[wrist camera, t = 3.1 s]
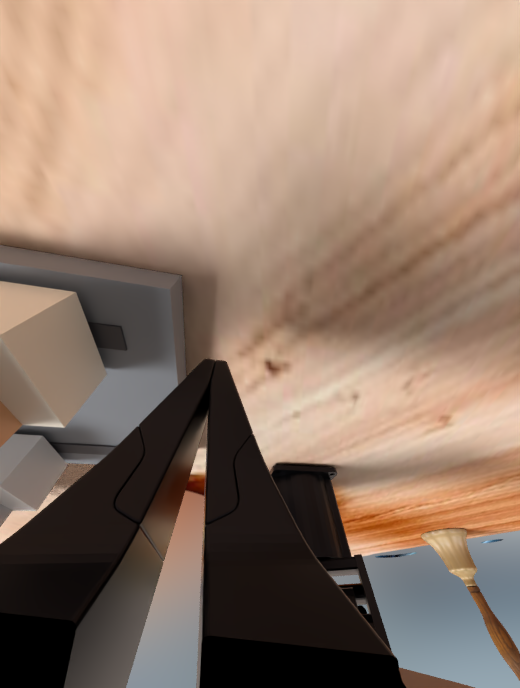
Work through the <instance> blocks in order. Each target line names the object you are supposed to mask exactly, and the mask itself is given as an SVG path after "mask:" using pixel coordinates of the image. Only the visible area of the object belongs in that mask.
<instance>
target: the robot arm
mask: <svg viewBox="0 0 520 688" xmlns="http://www.w3.org/2000/svg"><path fill="white" fill-rule="evenodd" d="M207 416H208V429H207V452H206V475H205V498H204V500H205V501H204V522H203V545H202V568H201V592H200V616H199V638H198V639H199V640H198V661H197V684H196V688H474V687H471V686H467V685H464V684H460V683H456V682H452V681H448V680H445V679H441V678H437V677H433V676H429V675H426V674H421V673H418V672H414V671H410V670H407V669H403V668H399V665H398V660H397V658H396V657H395V656H394V655H393V653H392V651H391V648H390V645H389V641H388V638H387V635H386V632H385V628H384V625H383V623H382V619H381V616H380V613H379V610H378V607H377V603H376V600H375V597H374V593H373V590H372V587H371V584H370V581H369V577H368V574H367V571H366V568H365V565H364V562H363V558H362V555H361V554H359V555H354V557H352V556H351V553H350V549H349V545H348V542H347V538H346V534H345V531H344V527H343V523H342V520H341V516H340V512H339V509H338V505H337V501H336V498H335V494H334V490H333V487H332V483H331V480H332V479H333V478H334V477H335V476H336V475H337V471H336V468H329V467H308V466H288V465H275V466H273V467H272V469H271V471H270V472H269V470H268V468H267V466H266V464H265V462H264V459H263V457H262V454H261V452H260V449H259V447H258V444H257V442H256V439H255V436H254V435H253V431H252V429H251V426H250V423H249V421H248V418H247V415H246V413H245V410H244V407H243V404H242V402H241V399H240V396H239V394H238V391H237V388H236V386H235V383H234V380H233V378H232V375H231V372H230V369H229V367H228V364H227V362H226V361H222V360H216V362H215V360H213V359H204V360H203V361H202V362H201V363H200V364H199V365H198V366H197V367H196V368H195V369H194V370H193V371H192V372H191V373H190V374H189V375H188V376H187V377H186V378H185V379H184V380H183V381H182V382H181V383H180V384H179V385H178V386H177V387H176V388H175V389H174V390H173V391H172V392H171V393H170V394H169V395H168V396H167V397H166V398H165V399H164V400H163V401H162V402H161V403H160V404H159V405H158V406H157V407H156V408H155V409H154V410H153V411H152V412H151V413H150V414H149V415H148V416H147V417H146V418H145V419H144V420H143V421H142V422H141V423H140V424H139V426H137V427H136V428H135V429H134V430H133V431H132V432H131V433H130V434H129V435H128V436H127V437H126V438H125V439H124V440H123V441H122V442H120V443H119V444H118V445H117V446H116V447H115V448H114V449H113V450H112V451H111V452H110V453H109V454H108V455H107V456H105V457H104V458H103V459H102V460H101V461H100V462H99V463H97V464H96V465H95V466H94V467H93V468H92V469H91V470H89V471H88V472H87V473H86V474H85V475H84V476H82V477H81V478H80V479H79V480H78V481H76V482H75V483H74V484H73V485H72V486H70V487H69V488H68V489H67V490H66V491H65V492H63V493H62V494H61V495H60V496H59V497H57V498H56V499H55V500H54V501H53V502H52V503H50V504H49V505H48V506H47V507H46V508H44V509H43V510H42V511H41V512H40V513H38V514H37V515H36V516H35V517H34V518H33V519H31V520H30V521H29V522H28V523H27V524H25V525H24V526H23V527H22V528H21V529H19V530H18V531H17V532H16V533H14V534H13V535H12V536H10V537H9V538H8V539H6V540H5V541H4V542H2V543H1V544H0V688H126V685H127V682H128V679H129V675H130V672H131V668H132V665H133V662H134V659H135V655H136V652H137V649H138V645H139V642H140V638H141V635H142V632H143V629H144V626H145V622H146V619H147V615H148V612H149V609H150V606H151V602H152V599H153V596H154V592H155V589H156V586H157V582H158V579H159V576H160V572H161V569H162V566H163V561H164V559H165V555H166V552H167V549H168V546H169V542H170V539H171V536H172V533H173V529H174V526H175V523H176V519H177V516H178V513H179V509H180V506H181V503H182V499H183V496H184V493H185V489H186V486H187V483H188V480H189V476H190V473H191V470H192V466H193V463H194V460H195V456H196V453H197V450H198V446H199V443H200V440H201V436H202V433H203V430H204V426H205V423H206V420H207ZM345 575H359V578H360V582H361V583H359V584H344V585H338V584H337V583H336V582H335V581H334V580H333V578H332V576H345ZM363 604H367V607H368V610H369V614H367V612H366V610H365V608H364V607H363V606H357V605H363Z"/></svg>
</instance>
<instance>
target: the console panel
mask: <svg viewBox="0 0 520 688" xmlns="http://www.w3.org/2000/svg"><path fill="white" fill-rule="evenodd" d="M0 281H4V282H11V283H18V284H25V285H31V286H38V287H45V288H52V289H59V290H65V291H72V292H76V293H77V296H78V299H79V301H80V304H81V307H82V309H83V312H84V315H85V317H86V320H87V323H88V325H89V328H90V330H91V333H92V336H93V338H94V341H95V344H96V346H97V349H98V352H99V354H100V357H101V360H102V362H103V365H104V368H105V370H106V373H107V375H106V376H105V378H104V379H103V380H102V381H101V383H100V384H99V385H98V386H97V388H96V389H95V390H94V392H93V393H92V394H91V395H90V397H89V398H88V399H87V400H86V402H85V403H84V404H83V405H82V407H81V408H80V409H79V410H78V412H77V413H76V414H75V415H74V417H73V418H72V419H71V420H70V422H69V423H68V424H67V425H66V427H65V428H62V427H46V426H31V425H22V426H21V427H20V428H19V429H18V430H17V431H16V432H15V433H14V434H22V435H39V436H43V437H44V438H45V439H46V440H47V441H48V442H49V443H50V445H51V446H52V447H53V448H54V449H55V450H56V452H57V453H58V454H59V455H60V456H61V457H62V458H63V460H64V461H65V462H66V463H75V464H97V463H99V462H100V461H101V460H102V459H103V458H104V457H105V456H107V455H108V454H109V453H110V452H111V451H112V450H113V449H114V448H115V447H116V446H117V445H118V444H119V443H120V442H122V441H123V440H124V439H125V438H126V437H127V436H128V435H129V434H130V433H131V432H132V431H133V430H134V429H135V428H136V427H137V426H139V424H140V423H141V422H142V421H143V420H144V419H145V418H146V417H147V416H148V415H149V414H150V413H151V412H152V411H153V410H154V409H155V408H156V407H157V406H158V405H159V404H160V403H161V402H162V401H163V400H164V399H165V398H166V397H167V396H168V395H169V394H170V393H171V392H172V391H173V390H174V389H175V388H176V387H177V386H178V385H179V384H180V383H181V382H182V381H183V380H184V379H185V378H186V358H185V337H184V315H183V294H182V275H176V274H171V273H165V272H159V271H153V270H147V269H141V268H135V267H129V266H123V265H117V264H111V263H105V262H99V261H93V260H87V259H81V258H75V257H69V256H63V255H57V254H51V253H45V252H39V251H33V250H27V249H21V248H15V247H9V246H4V245H0Z"/></svg>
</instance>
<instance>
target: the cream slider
mask: <svg viewBox="0 0 520 688" xmlns="http://www.w3.org/2000/svg"><path fill="white" fill-rule="evenodd" d="M106 375H107V373H106V370H105V368H104V365H103V362H102V360H101V357H100V354H99V352H98V349H97V346H96V344H95V341H94V338H93V336H92V333H91V330H90V328H89V325H88V323H87V320H86V317H85V315H84V312H83V309H82V307H81V304H80V301H79V299H78V296H77V293H76V292H72V291H65V290H59V289H52V288H45V287H38V286H31V285H25V284H18V283H11V282H4V281H0V447H1V446H2V445H3V444H4V443H5V442H6V441H7V440H8V439H9V438H10V437H11V436H12V435H13V434H14V433H15V432H16V431H17V430H18V429H19V428H20V427H21V426H22V425H31V426H46V427H62V428H65V427H66V425H67V424H68V423H69V422H70V420H71V419H72V418H73V417H74V415H75V414H76V413H77V412H78V410H79V409H80V408H81V407H82V405H83V404H84V403H85V402H86V400H87V399H88V398H89V397H90V395H91V394H92V393H93V392H94V390H95V389H96V388H97V386H98V385H99V384H100V383H101V381H102V380H103V379H104V378H105V376H106Z"/></svg>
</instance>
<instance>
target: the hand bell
mask: <svg viewBox="0 0 520 688" xmlns="http://www.w3.org/2000/svg"><path fill="white" fill-rule="evenodd" d="M421 537H422V539H423V540H424V541H426V542H427V543H429V544H430V545H431V546H432V547H433V548H434V549H435V550H436V552H437V553H438V554H439V556H440V557H441V558H442V560H443V561H444V563H445V564H446V566H447V568H448V570H449V571H450V572H451V573H452V574H454V575H456V576H458V577H460V578H461V579H462V580H463V581H464V583H465V585H466V586H467V588H468V590H469V591H470V593H471V595H472V597H473V599H474V600H475V602H476V604H477V606H478V607H479V609H480V611H481V613H482V616H483V619H484V621H485V624H486V627H487V629H488V632H489V634H490V636H491V638H492V640H493V642H494V644H495V645H496V647H497V649H498V651H499V652H500V654H501V655H502V657H503V658H504V660H505V661H506V662H507V664H508V665H509V666H510V668H511V669H512V670H513V672H514V673H515V674H516V676H517V677H518V679H519V680H520V653H519V651H518V649H517V647H516V645H515V644H514V642H513V641H512V639H511V637H510V635H509V634H508V632H507V631H506V629H505V628H504V627H503V626H502V624H501V623H500V622H499V620H498V619H497V618H496V617H495V615H494V614H493V612H492V611H491V609H490V608H489V606H488V604H487V602H486V600H485V599H484V597H483V595H482V593H481V592H480V589H479V587H478V586H477V585H476V583H475V581H474V578H473V577H474V575H475V573H476V572H477V568H476V566H475V565H474V563H473V560H472V558H471V556H470V553H469V550H468V547H467V542H466V537H467V531H466V530H465V529H461V528H449V529H440V530H434V531H430V532H426V533H424V534H422V535H421Z"/></svg>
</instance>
